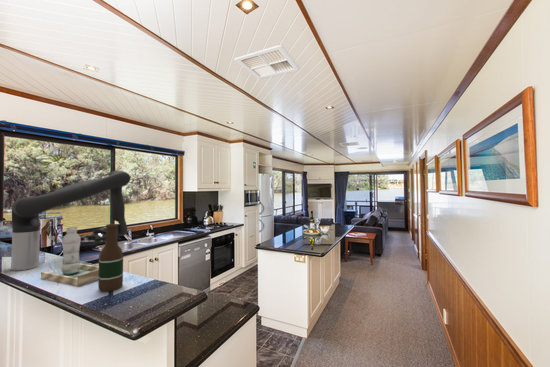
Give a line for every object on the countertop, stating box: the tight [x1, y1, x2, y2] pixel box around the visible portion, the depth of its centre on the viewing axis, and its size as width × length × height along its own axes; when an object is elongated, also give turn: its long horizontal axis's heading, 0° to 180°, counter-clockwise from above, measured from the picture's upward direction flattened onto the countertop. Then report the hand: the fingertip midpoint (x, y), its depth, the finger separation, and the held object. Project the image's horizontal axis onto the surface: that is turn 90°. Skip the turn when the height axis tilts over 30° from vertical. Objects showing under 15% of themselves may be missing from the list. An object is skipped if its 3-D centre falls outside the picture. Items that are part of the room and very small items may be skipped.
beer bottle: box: [97, 223, 124, 293], centre depth 94 cm, size 8×8×24 cm
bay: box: [40, 262, 99, 287], centre depth 106 cm, size 24×14×4 cm, turn 70°
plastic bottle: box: [60, 226, 82, 275], centre depth 108 cm, size 6×7×20 cm
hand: (86, 240), depth 119 cm, fingers open, 8 cm apart
